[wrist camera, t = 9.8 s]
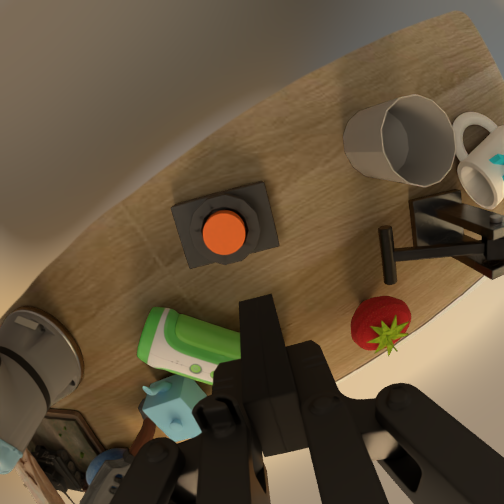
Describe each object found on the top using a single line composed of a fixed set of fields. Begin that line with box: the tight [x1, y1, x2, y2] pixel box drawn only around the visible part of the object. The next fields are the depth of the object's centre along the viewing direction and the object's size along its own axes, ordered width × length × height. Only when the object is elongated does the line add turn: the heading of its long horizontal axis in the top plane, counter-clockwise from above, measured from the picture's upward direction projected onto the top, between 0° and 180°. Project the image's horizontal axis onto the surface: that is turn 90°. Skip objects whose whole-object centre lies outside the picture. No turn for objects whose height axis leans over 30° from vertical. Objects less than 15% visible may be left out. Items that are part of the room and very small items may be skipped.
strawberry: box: [351, 296, 411, 356], centre depth 34 cm, size 6×8×10 cm
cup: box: [343, 94, 456, 187], centre depth 28 cm, size 8×8×10 cm
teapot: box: [142, 374, 207, 442], centre depth 37 cm, size 12×6×8 cm, turn 28°
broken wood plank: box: [14, 448, 65, 504], centre depth 37 cm, size 28×12×5 cm, turn 46°
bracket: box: [409, 189, 504, 280], centre depth 29 cm, size 8×7×14 cm
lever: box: [378, 225, 504, 285], centre depth 27 cm, size 14×6×2 cm, turn 104°
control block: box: [171, 181, 279, 269], centre depth 33 cm, size 10×7×4 cm
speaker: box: [137, 307, 241, 385], centre depth 36 cm, size 18×7×8 cm, turn 69°
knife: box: [80, 398, 156, 504], centre depth 37 cm, size 9×2×30 cm
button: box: [203, 210, 245, 255], centre depth 31 cm, size 4×4×2 cm
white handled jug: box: [452, 112, 504, 209], centre depth 30 cm, size 12×9×12 cm
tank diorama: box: [27, 409, 105, 504], centre depth 42 cm, size 28×25×11 cm
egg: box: [86, 448, 126, 488], centre depth 42 cm, size 9×9×15 cm
